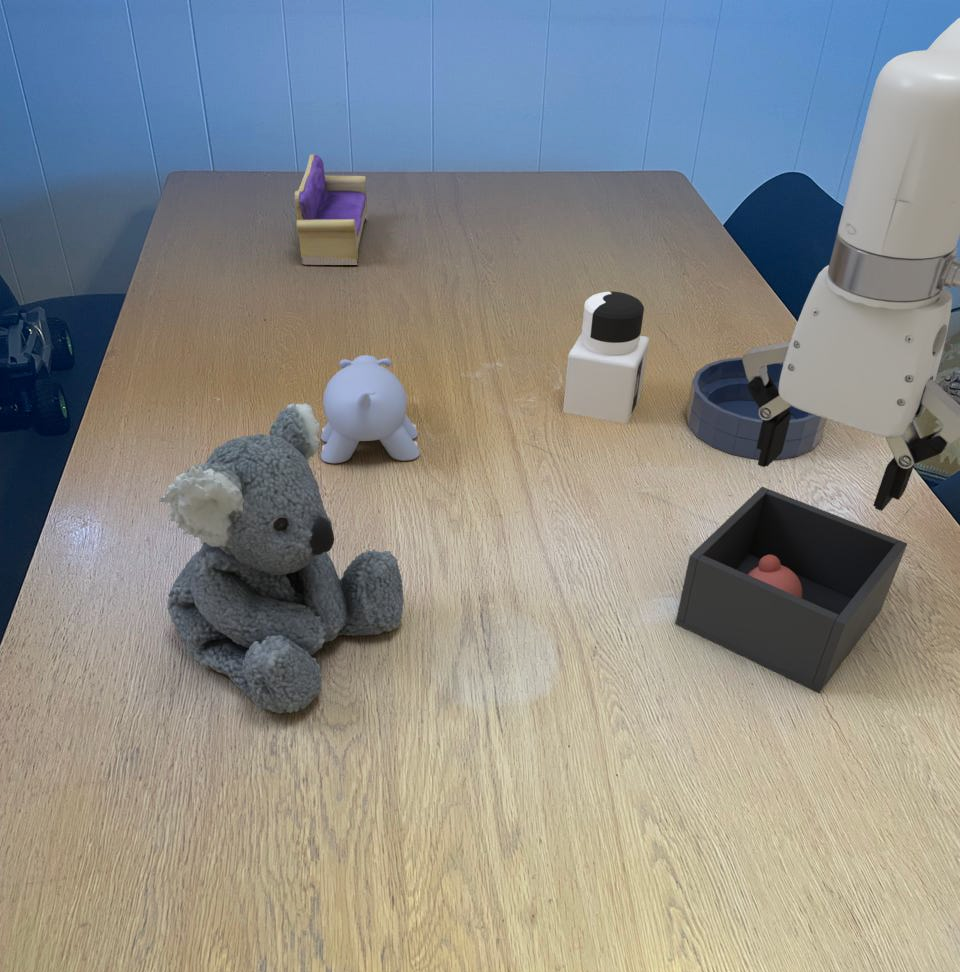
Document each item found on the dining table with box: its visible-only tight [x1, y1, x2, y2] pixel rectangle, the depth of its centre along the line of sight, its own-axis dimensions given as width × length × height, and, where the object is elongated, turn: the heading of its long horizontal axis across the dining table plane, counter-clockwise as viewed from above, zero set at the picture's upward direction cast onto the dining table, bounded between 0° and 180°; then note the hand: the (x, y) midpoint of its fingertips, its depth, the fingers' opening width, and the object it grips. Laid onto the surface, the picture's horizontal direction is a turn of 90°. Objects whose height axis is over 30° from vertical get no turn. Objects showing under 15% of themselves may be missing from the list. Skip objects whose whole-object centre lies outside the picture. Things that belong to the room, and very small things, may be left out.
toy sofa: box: [294, 154, 368, 260], centre depth 147 cm, size 21×9×10 cm, turn 0°
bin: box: [675, 486, 908, 693], centre depth 84 cm, size 14×14×8 cm
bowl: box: [685, 356, 828, 461], centre depth 109 cm, size 15×15×5 cm
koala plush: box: [158, 401, 405, 714], centre depth 77 cm, size 17×18×20 cm
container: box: [562, 291, 650, 425], centre depth 110 cm, size 8×8×13 cm
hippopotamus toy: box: [320, 354, 421, 464], centre depth 104 cm, size 11×15×10 cm
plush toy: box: [747, 555, 802, 598], centre depth 84 cm, size 5×5×6 cm
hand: (825, 480), depth 77 cm, fingers open, 9 cm apart
